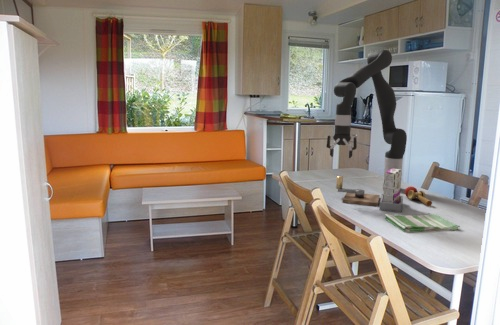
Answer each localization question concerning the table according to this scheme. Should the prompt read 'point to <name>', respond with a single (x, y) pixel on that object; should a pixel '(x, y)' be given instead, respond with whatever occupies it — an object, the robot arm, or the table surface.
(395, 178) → the candy bar box
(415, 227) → the dish towel
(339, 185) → the crank
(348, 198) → the crank base
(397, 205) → the tray
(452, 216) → the table surface
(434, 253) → the table surface
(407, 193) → the kendama
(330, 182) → the table surface
